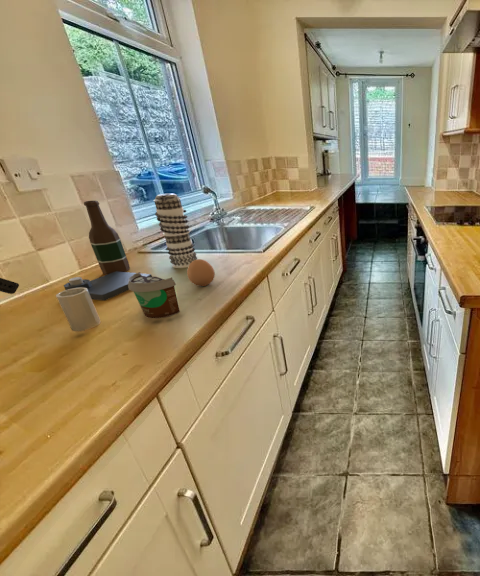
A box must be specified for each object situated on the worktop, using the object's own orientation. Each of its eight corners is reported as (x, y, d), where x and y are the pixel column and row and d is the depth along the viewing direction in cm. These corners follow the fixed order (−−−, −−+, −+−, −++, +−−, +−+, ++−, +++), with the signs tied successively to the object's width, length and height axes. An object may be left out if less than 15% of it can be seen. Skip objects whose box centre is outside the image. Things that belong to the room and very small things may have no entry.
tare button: (68, 285, 92) (65, 280, 91) (78, 282, 94) (76, 276, 94) (76, 286, 91) (73, 280, 91) (86, 282, 94) (83, 277, 93)
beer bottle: (129, 265, 116) (105, 198, 106) (131, 271, 111) (106, 201, 101) (102, 270, 112) (74, 201, 102) (103, 277, 106) (73, 204, 96)
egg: (222, 283, 101) (216, 257, 98) (201, 291, 95) (194, 265, 91) (206, 279, 104) (200, 254, 100) (185, 287, 98) (177, 261, 94)
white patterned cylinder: (175, 261, 121) (155, 193, 110) (201, 259, 123) (184, 192, 112) (166, 269, 112) (144, 197, 102) (195, 266, 115) (176, 195, 104)
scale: (63, 297, 92) (58, 286, 91) (117, 276, 107) (113, 266, 105) (103, 301, 89) (99, 290, 88) (153, 279, 104) (149, 269, 103)
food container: (127, 316, 81) (113, 280, 77) (150, 305, 87) (138, 271, 83) (162, 324, 78) (150, 286, 74) (184, 312, 83) (173, 277, 79)
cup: (65, 330, 75) (49, 296, 72) (89, 319, 80) (74, 286, 77) (84, 332, 74) (68, 298, 71) (106, 321, 79) (92, 288, 76)
